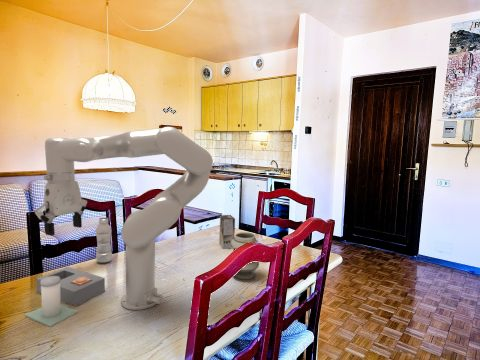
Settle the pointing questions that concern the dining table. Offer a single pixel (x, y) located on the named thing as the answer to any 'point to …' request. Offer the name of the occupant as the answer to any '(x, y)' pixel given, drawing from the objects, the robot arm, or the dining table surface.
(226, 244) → the coffee box
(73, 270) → the housing
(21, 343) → the dining table surface
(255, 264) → the apothecary jar
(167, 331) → the dining table surface
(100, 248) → the plastic bottle
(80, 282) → the square push button
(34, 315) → the mat
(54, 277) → the cylinder
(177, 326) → the dining table surface
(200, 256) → the dining table surface
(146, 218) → the robot arm
